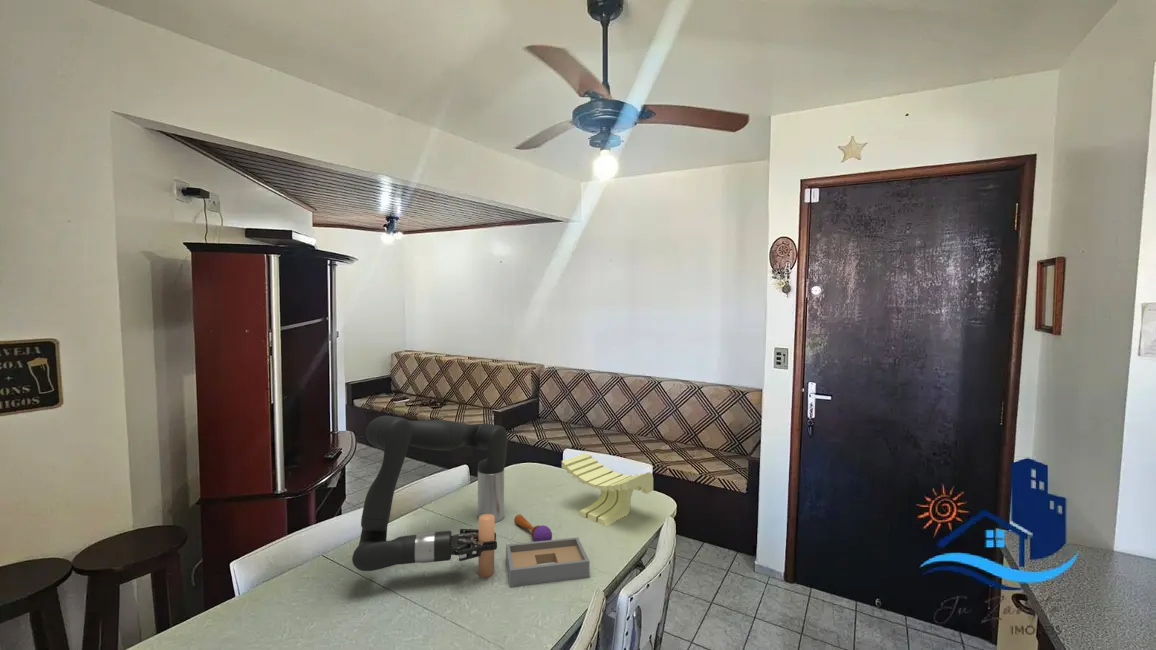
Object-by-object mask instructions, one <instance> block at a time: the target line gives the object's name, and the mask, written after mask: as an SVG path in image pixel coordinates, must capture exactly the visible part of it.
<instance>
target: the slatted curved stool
mask: <svg viewBox="0 0 1156 650" xmlns="http://www.w3.org/2000/svg"><path fill="white" fill-rule="evenodd" d="M561 469H563V470H566V473H567V474H570V475H571V474H572V478H574V479H577V481H578V483H581V484H584V485H587V486H590V487H593V488H595V489H598V490H600V495H599V497H598V499H597V500H595V501H594V502H593V503H590V505H588V506H586V507H585V508H582V509H581V510H579V512H578V514H577V515H578V516H580V517H583V518H584V517H585V518H584V519H587V520H589V519H590V520H589V521H592V520H593V521H592V522H594V521H595V523H598V524H599V523H600V524H599V525H601V524H602V525H601V526H605V527H607V525H608V526H610V525H612V524H613V523H615V522H617V521H619V520H621V519H623V518H624V516H625V517H626V516H628V515H629V514H630V511H631V501H632V500H631V499H632V496H633V492H634V490H636V491H640V492H642V493H644V494H645V495H647V494H649V493H652V492H653V491H654V475H653V473H652V472H650V471H647V472H645V473H643V472H642V473H640V474H634V475H633V474H623V473H621V472H618V471H614V470H612V469H610V468H609V467H606V466H605V465H604V464H602V463H600V462H599V461H598V460H597V459H595V458H593V456H592V455H591V454H589V453H585V452H583V453H581V454H579V455H575V456H572V457H570V458H565V459H564V460H561ZM586 517H587V518H586ZM622 517H623V518H622ZM620 518H621V519H620ZM618 519H619V520H618ZM616 520H617V521H616ZM596 521H597V522H596ZM611 523H612V524H611ZM609 524H610V525H609Z"/></svg>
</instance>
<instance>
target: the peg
mask: <svg viewBox="0 0 1156 650" xmlns="http://www.w3.org/2000/svg"><path fill="white" fill-rule="evenodd" d="M495 523H496V522H495V516H494V515H492V514H483V515H481V516H479V520H478V529H479V542H488V541H494V533H496V532H495V527H496V526H495ZM477 559H478V562H477V563H478V566H477V567H478V569H477V570H478V576H479V577H481V578H490V577H492V576H493V575H494V574H495V550H488V551H483V552H482V553H481V556H479V557H477Z"/></svg>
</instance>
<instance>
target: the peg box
mask: <svg viewBox="0 0 1156 650" xmlns="http://www.w3.org/2000/svg"><path fill="white" fill-rule="evenodd" d="M505 560H506V561H505V562H506V563H505V564H506V567H507V568H506V569H507V575H508V581H509V587H510V588H513V587H517V586H518V587H519V586H528V585H536V584H543V583H552V582H561V581H569V580H576V579H585V578H590V559H589V557H588V555H587V553H586V551H585V549H584V547H583V545H582V542H581V541H580V538H579V537H569V538H557V539H551V540H547V541H537V542H535V541H528V542H518V543H510V544H505ZM551 562H552V563H551ZM553 562H555V563H553ZM541 563H542V564H541ZM543 563H545V564H543Z"/></svg>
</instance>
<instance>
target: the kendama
mask: <svg viewBox="0 0 1156 650" xmlns="http://www.w3.org/2000/svg"><path fill="white" fill-rule="evenodd" d="M513 522H514V523H515V525H517V526H520V527H522V528H524V529H527V530H530V531H531V532H530V533H531V536H532V538H533V542H537V541H547V540H553V539H552V538H553V533H552V530H551V528H550V527H548V526H547V525H543V524H542V525H535V526H533V525H532V524H531V523H530V522H529V521H528V520H527V519H526V517H524V516H523V515H522V514H517V515H515V516H514V521H513Z"/></svg>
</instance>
